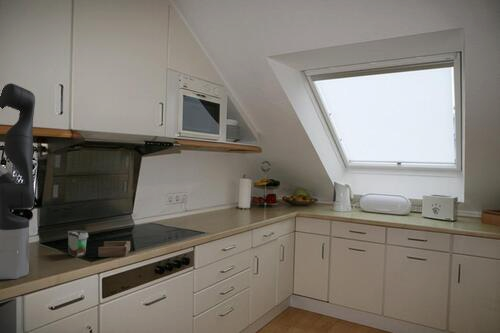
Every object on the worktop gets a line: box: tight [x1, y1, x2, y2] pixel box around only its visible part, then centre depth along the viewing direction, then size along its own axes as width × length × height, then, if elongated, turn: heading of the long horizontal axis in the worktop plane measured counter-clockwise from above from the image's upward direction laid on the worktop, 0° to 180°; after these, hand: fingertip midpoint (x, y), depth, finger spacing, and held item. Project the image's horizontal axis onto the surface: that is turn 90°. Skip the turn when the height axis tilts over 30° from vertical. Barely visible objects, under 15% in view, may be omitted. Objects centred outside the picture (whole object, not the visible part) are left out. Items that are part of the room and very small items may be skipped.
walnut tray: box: [97, 240, 131, 258], centre depth 158 cm, size 12×12×4 cm
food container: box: [67, 230, 89, 258], centre depth 155 cm, size 12×6×10 cm, turn 48°
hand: (32, 206), depth 150 cm, fingers closed
